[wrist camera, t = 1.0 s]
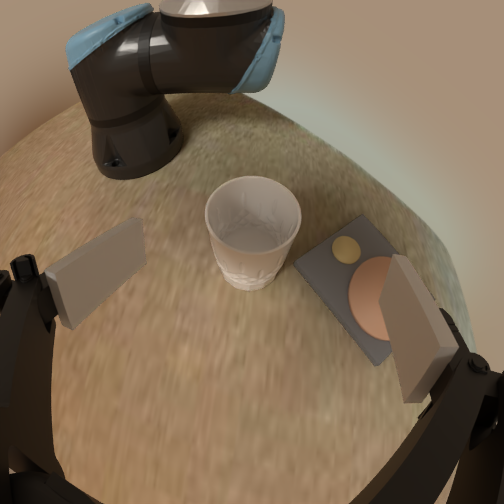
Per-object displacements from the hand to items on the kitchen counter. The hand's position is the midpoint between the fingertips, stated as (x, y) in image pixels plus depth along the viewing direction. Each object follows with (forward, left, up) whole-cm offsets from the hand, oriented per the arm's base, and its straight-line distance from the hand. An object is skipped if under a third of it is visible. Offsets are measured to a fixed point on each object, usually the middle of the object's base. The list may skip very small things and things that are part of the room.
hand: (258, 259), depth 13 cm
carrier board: (+5, +14, -16) cm, 22 cm away
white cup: (-6, +4, -16) cm, 18 cm away
